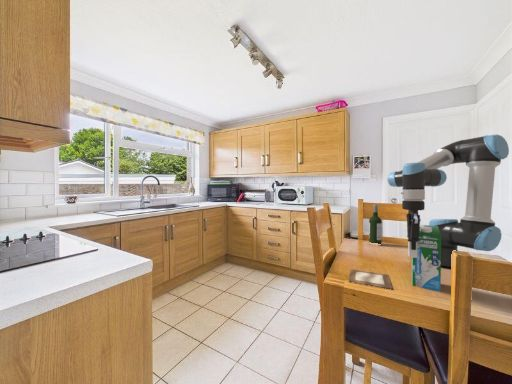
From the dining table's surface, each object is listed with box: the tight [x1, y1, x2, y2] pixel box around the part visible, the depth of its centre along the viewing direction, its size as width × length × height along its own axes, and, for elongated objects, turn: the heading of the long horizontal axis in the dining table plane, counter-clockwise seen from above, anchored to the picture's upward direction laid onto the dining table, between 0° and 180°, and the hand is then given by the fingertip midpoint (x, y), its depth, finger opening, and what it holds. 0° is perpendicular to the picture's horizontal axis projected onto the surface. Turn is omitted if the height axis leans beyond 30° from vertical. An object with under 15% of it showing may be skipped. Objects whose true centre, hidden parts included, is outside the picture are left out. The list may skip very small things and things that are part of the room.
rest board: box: [348, 268, 393, 290], centre depth 98 cm, size 16×16×1 cm
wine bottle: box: [368, 204, 383, 244], centre depth 156 cm, size 8×8×30 cm
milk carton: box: [411, 224, 442, 292], centre depth 92 cm, size 9×9×25 cm
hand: (412, 256), depth 91 cm, fingers closed on milk carton
